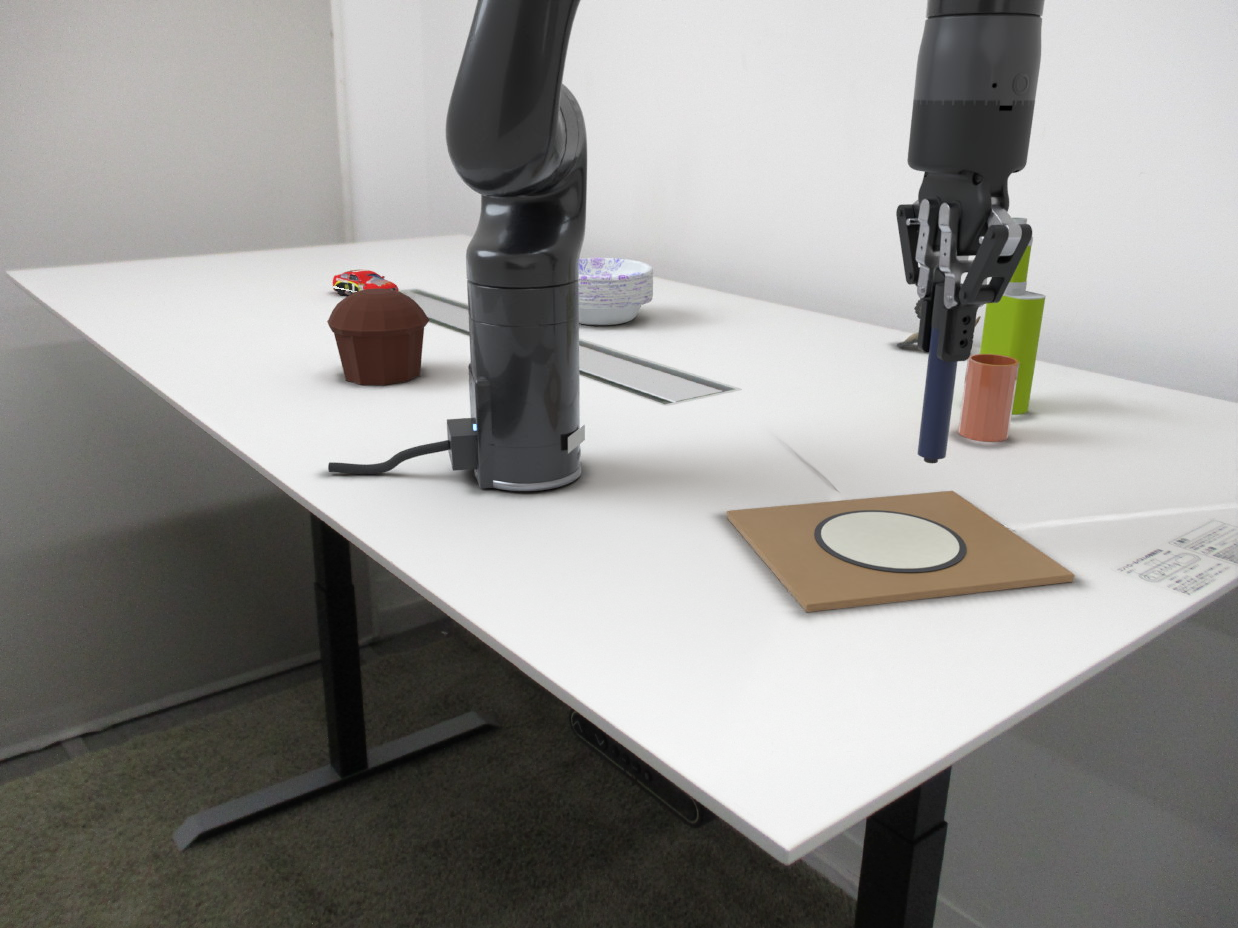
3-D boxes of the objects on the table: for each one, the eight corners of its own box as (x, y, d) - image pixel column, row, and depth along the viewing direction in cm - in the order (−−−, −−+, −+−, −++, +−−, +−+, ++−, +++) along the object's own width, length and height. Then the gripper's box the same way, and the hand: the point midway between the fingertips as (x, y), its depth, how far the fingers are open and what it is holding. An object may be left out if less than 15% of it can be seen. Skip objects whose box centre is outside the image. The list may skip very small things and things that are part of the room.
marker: (925, 467, 73) (946, 288, 68) (910, 457, 75) (930, 282, 70) (951, 465, 73) (973, 287, 69) (936, 455, 75) (957, 281, 71)
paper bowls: (594, 336, 139) (594, 278, 136) (529, 317, 150) (527, 264, 147) (674, 320, 149) (675, 266, 146) (606, 304, 159) (607, 254, 156)
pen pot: (974, 447, 96) (985, 367, 94) (948, 432, 101) (958, 355, 98) (1016, 444, 97) (1029, 364, 95) (989, 429, 102) (1000, 352, 99)
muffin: (312, 382, 116) (303, 296, 113) (366, 359, 126) (359, 279, 123) (401, 392, 113) (395, 304, 109) (450, 368, 122) (445, 286, 119)
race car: (405, 299, 163) (403, 274, 161) (377, 304, 159) (376, 279, 157) (356, 288, 171) (354, 264, 169) (328, 293, 167) (326, 268, 165)
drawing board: (806, 612, 66) (807, 602, 66) (726, 517, 80) (726, 508, 80) (1073, 581, 70) (1075, 572, 70) (951, 496, 85) (952, 488, 85)
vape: (990, 400, 111) (1016, 215, 104) (1033, 415, 106) (1064, 222, 99) (965, 405, 110) (990, 217, 103) (1008, 420, 105) (1037, 223, 98)
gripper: (871, 94, 71) (850, 336, 77) (982, 95, 58) (946, 385, 64) (967, 94, 72) (939, 331, 78) (1095, 95, 60) (1050, 378, 66)
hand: (943, 354), depth 71 cm, fingers closed on marker, 2 cm apart
